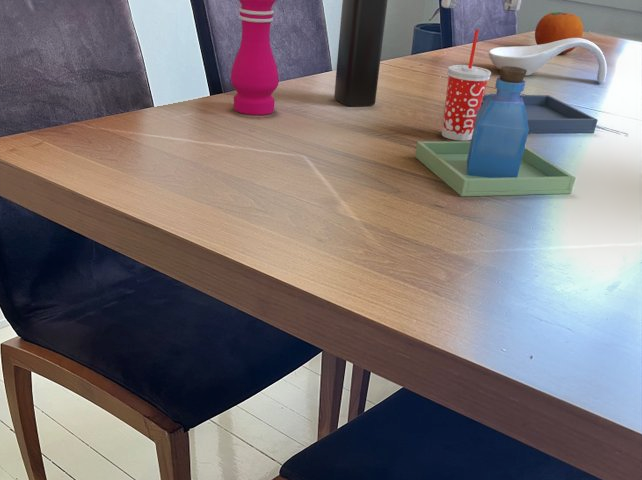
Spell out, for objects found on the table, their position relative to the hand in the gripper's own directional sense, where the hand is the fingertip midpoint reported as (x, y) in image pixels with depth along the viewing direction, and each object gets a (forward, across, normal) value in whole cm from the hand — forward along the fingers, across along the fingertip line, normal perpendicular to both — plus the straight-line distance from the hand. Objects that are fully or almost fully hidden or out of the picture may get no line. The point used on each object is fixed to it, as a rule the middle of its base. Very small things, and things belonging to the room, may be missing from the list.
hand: (480, 9), depth 99 cm
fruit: (+16, +55, +66) cm, 88 cm away
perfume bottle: (+16, -3, -17) cm, 24 cm away
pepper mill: (+17, -28, +14) cm, 35 cm away
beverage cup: (+17, 0, 0) cm, 17 cm away
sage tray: (+16, -3, -17) cm, 24 cm away
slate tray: (+16, +17, +9) cm, 25 cm away
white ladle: (+16, +38, +41) cm, 58 cm away
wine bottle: (+17, -10, +19) cm, 27 cm away
